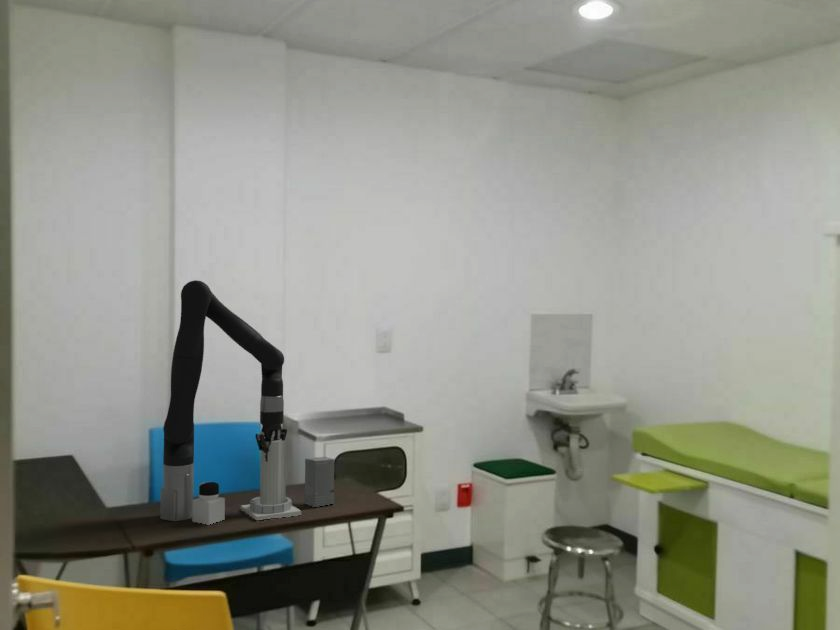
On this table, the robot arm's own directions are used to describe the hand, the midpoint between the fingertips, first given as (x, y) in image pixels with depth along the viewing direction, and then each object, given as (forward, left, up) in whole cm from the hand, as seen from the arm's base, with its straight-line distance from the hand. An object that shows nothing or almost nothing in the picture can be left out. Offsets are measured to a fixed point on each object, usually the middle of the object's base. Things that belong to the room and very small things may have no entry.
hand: (271, 461), depth 269 cm
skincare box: (+17, -7, -17) cm, 25 cm away
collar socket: (0, 0, -17) cm, 17 cm away
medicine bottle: (-18, +10, -17) cm, 27 cm away
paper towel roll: (0, 0, -14) cm, 14 cm away
